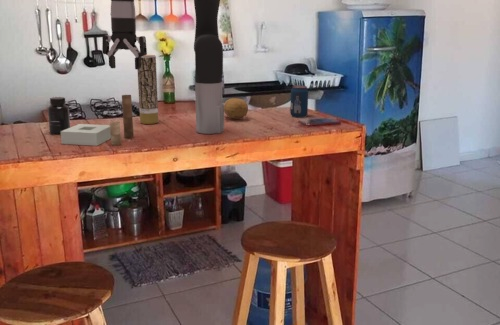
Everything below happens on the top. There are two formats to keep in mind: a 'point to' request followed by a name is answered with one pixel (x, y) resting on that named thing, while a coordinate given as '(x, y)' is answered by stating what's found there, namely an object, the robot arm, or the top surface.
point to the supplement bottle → (58, 115)
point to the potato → (235, 108)
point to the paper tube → (148, 90)
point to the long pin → (127, 116)
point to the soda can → (299, 101)
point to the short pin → (115, 133)
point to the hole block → (86, 134)
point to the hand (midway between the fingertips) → (125, 68)
